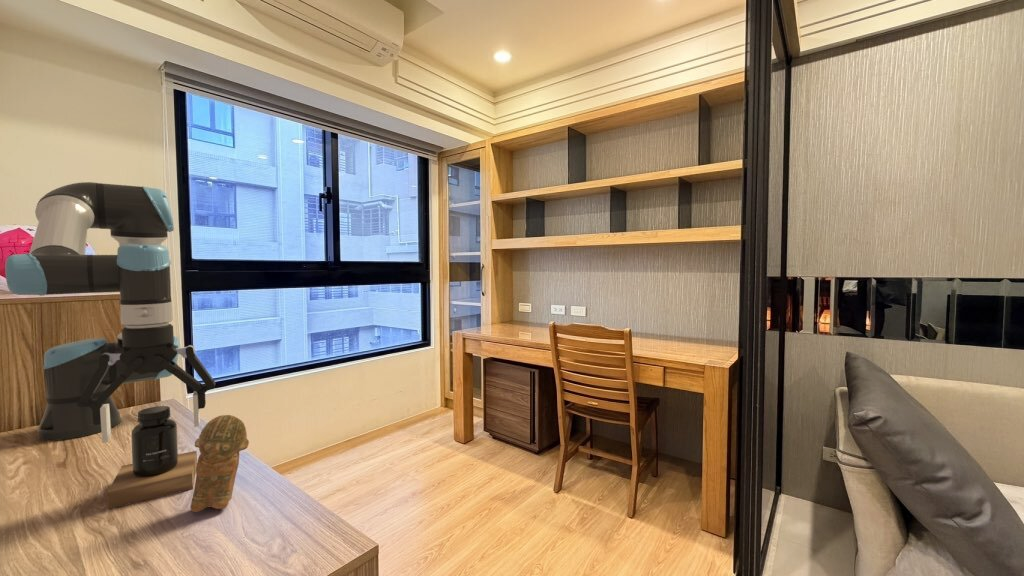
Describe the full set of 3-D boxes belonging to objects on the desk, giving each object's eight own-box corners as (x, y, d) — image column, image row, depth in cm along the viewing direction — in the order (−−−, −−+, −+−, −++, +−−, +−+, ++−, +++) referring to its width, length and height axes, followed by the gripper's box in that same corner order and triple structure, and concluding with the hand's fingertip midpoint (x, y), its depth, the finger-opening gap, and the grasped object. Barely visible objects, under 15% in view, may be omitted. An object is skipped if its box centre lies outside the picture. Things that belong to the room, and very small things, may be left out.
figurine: (189, 521, 71) (184, 434, 70) (199, 497, 78) (195, 418, 77) (248, 507, 75) (244, 425, 74) (252, 486, 82) (249, 410, 81)
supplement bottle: (152, 480, 79) (148, 417, 78) (123, 476, 80) (119, 414, 79) (187, 462, 85) (184, 405, 85) (160, 459, 87) (157, 402, 86)
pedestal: (122, 480, 85) (122, 465, 84) (197, 464, 91) (196, 450, 91) (108, 509, 75) (107, 492, 74) (192, 488, 81) (191, 473, 81)
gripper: (47, 334, 71) (56, 455, 73) (225, 322, 85) (230, 424, 86) (62, 327, 77) (70, 439, 79) (226, 317, 91) (230, 413, 93)
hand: (154, 432), depth 83 cm, fingers open, 13 cm apart
